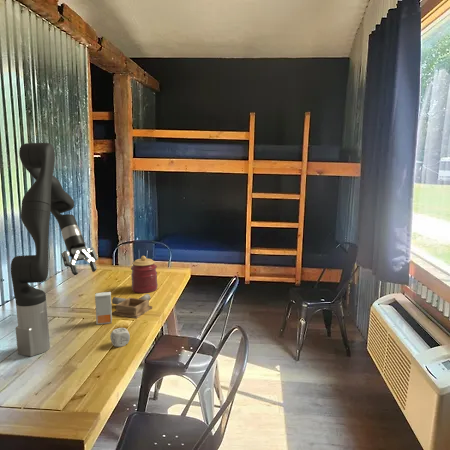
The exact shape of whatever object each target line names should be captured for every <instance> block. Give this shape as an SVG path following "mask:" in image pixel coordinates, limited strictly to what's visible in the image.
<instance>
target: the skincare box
mask: <svg viewBox="0 0 450 450" xmlns="http://www.w3.org/2000/svg"><path fill="white" fill-rule="evenodd" d="M94 295H95V296H94V301H95V303H94V305H95V321H96V323H95V324H96V325H104V324H105V325H106V324H112V321H113V311H112V292H111V291H103V292H96V293H95V294H94Z"/></svg>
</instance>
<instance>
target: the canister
mask: <svg viewBox="0 0 450 450" xmlns="http://www.w3.org/2000/svg"><path fill="white" fill-rule="evenodd" d="M155 263H156V261H155V260H153V259H152V258H147V257H146V256H145V255H141V257H140V258H138V259H135V260H134V261H133V262H132V266H131V267H130V270H131V274H130V276H131V290H132V292H133V293H136V294H148V293H152V292H154V291H157V289H158V272H157V267H158V266H157V265H156V264H155Z"/></svg>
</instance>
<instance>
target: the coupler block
mask: <svg viewBox="0 0 450 450" xmlns="http://www.w3.org/2000/svg"><path fill="white" fill-rule="evenodd" d="M151 299H152V297H151V295H150V294H148V293H145V294H144V295H142V296H141V297H139V298H135V297H128V298H125V297H116V296H114V297H112V298H111V304H113V305H115V310H114V311H112V316H113V315H114V316H120V317H127V318H132V319H133V318H134V319H138V318H139V317H141V316H143V315H144V314H145V313H147V312H149V311H151V310H152V309H153V306H152V305H150V302H149V301H150V300H151Z"/></svg>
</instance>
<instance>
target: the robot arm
mask: <svg viewBox="0 0 450 450" xmlns="http://www.w3.org/2000/svg"><path fill="white" fill-rule="evenodd" d="M55 152H56V151H55V149H54V146H53V145H52V143H48V142H27V143H23V144H21V146H19V151H18V154H19V155H18V156H19V160H20V162H21V164H22V166H23V167H24V168H25V170H26V171H27V172H28V173H29V175H31V176H32V177H33V179H34V180H35V182H34V183H33V184H32V185H31V186H30V188H28V189H27V191H26V192H25V194H24V195H23V197H22V200H21V210H20V219H21V221H22V224H23V225H24V227H25V229H26V230H27V232H28V233H29V234H30V236H31V239H32V240H33V242H34V245H35V250H36V251H35V252H36V253H35V254H31V255H16V256H14V257H13V258H12V259H11V261H10V262H11V263H10V278H11V283H12V289H13V290H12V291H13V297H14V300H15V308H16V319H17V320H16V321H17V326H15V336H16V337H15V338H16V339H15V340H16V346H17V348H16V349H17V354H18V355H23V356H27V357H33V356H36V355H39V354H42V353H45V352H47V351H48V350H49V349H50V347H51V342H50V332H49V319H48V308H47V307H48V306H47V297H46V296H47V294H46V292H45V291H44V290H42V289H39V288H36V287H33V286H31V283H32V284H34V283H35V284H36V283H44V282H46V280H47V279H48V276H49V267H50V266H49V265H50V264H49V258H50V257H49V231H50V219H51V214H52V215H53V216H54V218H55V220H56V221H57V223H58V226H59V228H60V232H61V235H62V236H61V237H62V239H63V242H64V244H65V247H66V248H65V249H66V250H64V251H63V252H62V253H61V258H62V262H63V265H64V267H69V268H70V271H71V273H72V275H73V276H77V275H78V274H79V272H78V269H77V268H78V267H77V266H76V264H75V263H76V262H79V261H84V262H87V263H89V266H90V269H91V272H92V273H94V272H96V271H97V269H98V267H97V265H96V262H97V261H98V260H99V258H98V255H97V253H96V251H95V249H94V247H91V248H87V247H86V242H85V240H84V237H83V235H82V231H81V230H80V228H79V225H78V222H77V220H76V217H75V216H74V215H73V214H69V213H67V214H63V213H65V212H69V211H71V210H73V209H74V207H75V201H74V199H73V198H72V196H71V195H70V194H69V193H68V192H66V191H65V190H64V188H63V186H62V183H61V181H60V180H59V179H58V178H57V177H55V175H53V174H54V170H55V162H56V160H55V159H56V154H55ZM69 257H70V258H71V259H70V258H69Z"/></svg>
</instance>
